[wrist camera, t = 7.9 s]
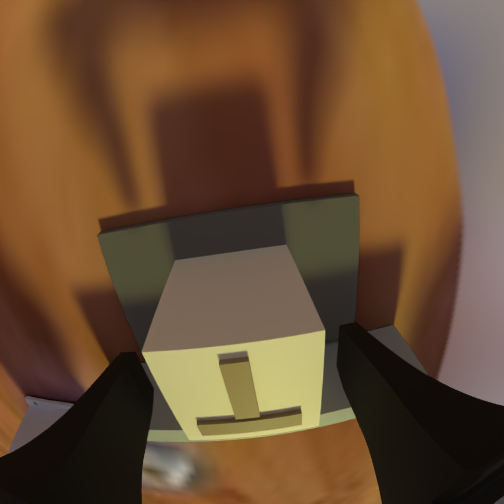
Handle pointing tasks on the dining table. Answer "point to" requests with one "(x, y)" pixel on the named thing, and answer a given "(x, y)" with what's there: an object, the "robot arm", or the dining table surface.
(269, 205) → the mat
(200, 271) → the letter block
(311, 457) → the dining table surface
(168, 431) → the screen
